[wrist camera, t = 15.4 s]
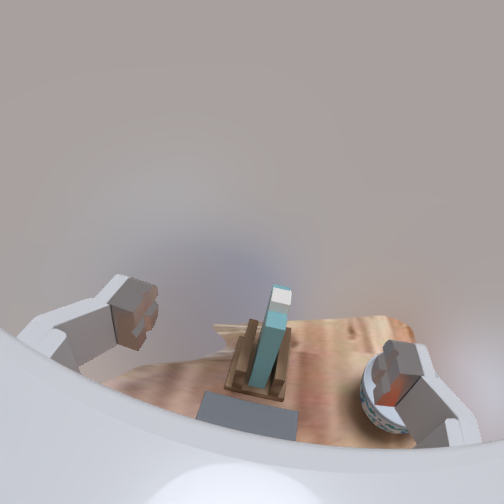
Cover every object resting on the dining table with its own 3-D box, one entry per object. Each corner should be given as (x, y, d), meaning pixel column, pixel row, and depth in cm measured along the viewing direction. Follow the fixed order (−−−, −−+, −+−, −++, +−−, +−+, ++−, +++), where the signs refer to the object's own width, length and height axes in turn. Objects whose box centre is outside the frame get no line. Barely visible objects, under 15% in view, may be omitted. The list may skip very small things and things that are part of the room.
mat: (181, 460, 30) (181, 459, 30) (205, 392, 41) (205, 390, 41) (289, 483, 30) (290, 483, 29) (297, 412, 40) (298, 411, 40)
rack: (224, 388, 42) (228, 367, 39) (238, 339, 52) (243, 317, 49) (282, 401, 41) (292, 382, 39) (288, 351, 51) (297, 329, 48)
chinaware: (371, 465, 32) (399, 443, 28) (328, 392, 44) (346, 363, 40) (433, 428, 37) (460, 403, 34) (391, 370, 49) (411, 342, 46)
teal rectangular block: (247, 385, 42) (268, 316, 35) (257, 344, 50) (275, 275, 43) (264, 389, 42) (288, 320, 35) (271, 347, 50) (292, 279, 43)
